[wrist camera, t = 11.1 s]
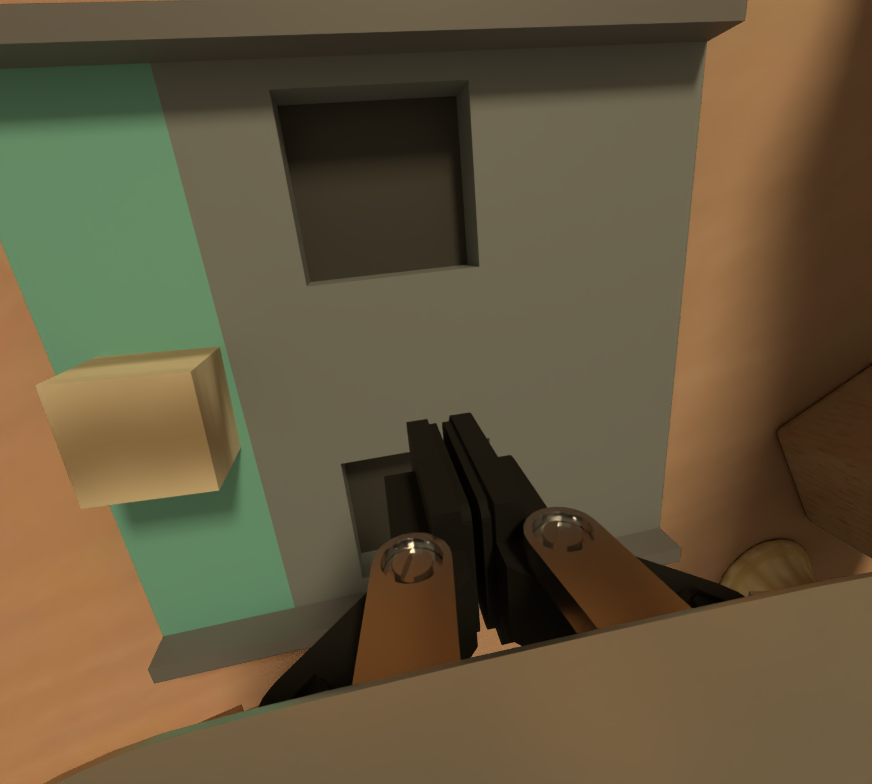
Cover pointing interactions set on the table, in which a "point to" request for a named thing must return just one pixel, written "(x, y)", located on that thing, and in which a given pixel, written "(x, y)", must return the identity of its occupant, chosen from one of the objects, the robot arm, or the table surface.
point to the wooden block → (835, 461)
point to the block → (143, 425)
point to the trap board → (360, 261)
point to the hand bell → (770, 568)
